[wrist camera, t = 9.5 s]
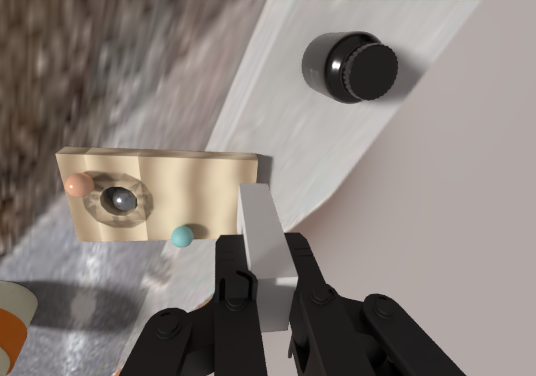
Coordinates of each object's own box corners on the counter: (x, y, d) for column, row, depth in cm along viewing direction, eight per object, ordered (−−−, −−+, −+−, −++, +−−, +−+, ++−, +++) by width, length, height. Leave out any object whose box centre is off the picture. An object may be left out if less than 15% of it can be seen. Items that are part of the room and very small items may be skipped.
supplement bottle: (346, 92, 38) (396, 114, 27) (297, 90, 36) (330, 112, 26) (357, 34, 34) (419, 33, 24) (303, 30, 33) (344, 27, 23)
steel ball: (142, 184, 38) (130, 196, 36) (144, 204, 40) (132, 216, 37) (119, 181, 38) (105, 192, 36) (122, 200, 40) (109, 213, 37)
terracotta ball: (95, 168, 34) (86, 179, 32) (100, 190, 36) (91, 202, 33) (68, 168, 34) (56, 179, 31) (73, 189, 35) (62, 202, 33)
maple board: (255, 153, 40) (258, 160, 37) (249, 228, 46) (250, 238, 43) (65, 146, 35) (55, 153, 33) (85, 230, 41) (78, 241, 39)
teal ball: (193, 221, 40) (192, 234, 38) (194, 238, 42) (192, 251, 39) (171, 221, 40) (169, 234, 37) (173, 238, 41) (170, 252, 38)
